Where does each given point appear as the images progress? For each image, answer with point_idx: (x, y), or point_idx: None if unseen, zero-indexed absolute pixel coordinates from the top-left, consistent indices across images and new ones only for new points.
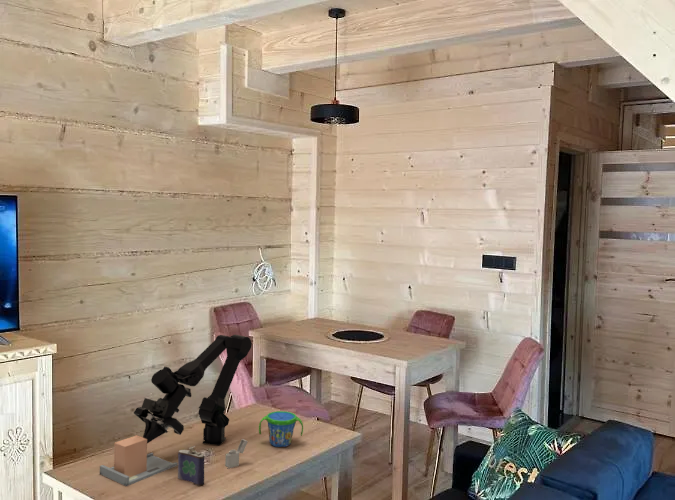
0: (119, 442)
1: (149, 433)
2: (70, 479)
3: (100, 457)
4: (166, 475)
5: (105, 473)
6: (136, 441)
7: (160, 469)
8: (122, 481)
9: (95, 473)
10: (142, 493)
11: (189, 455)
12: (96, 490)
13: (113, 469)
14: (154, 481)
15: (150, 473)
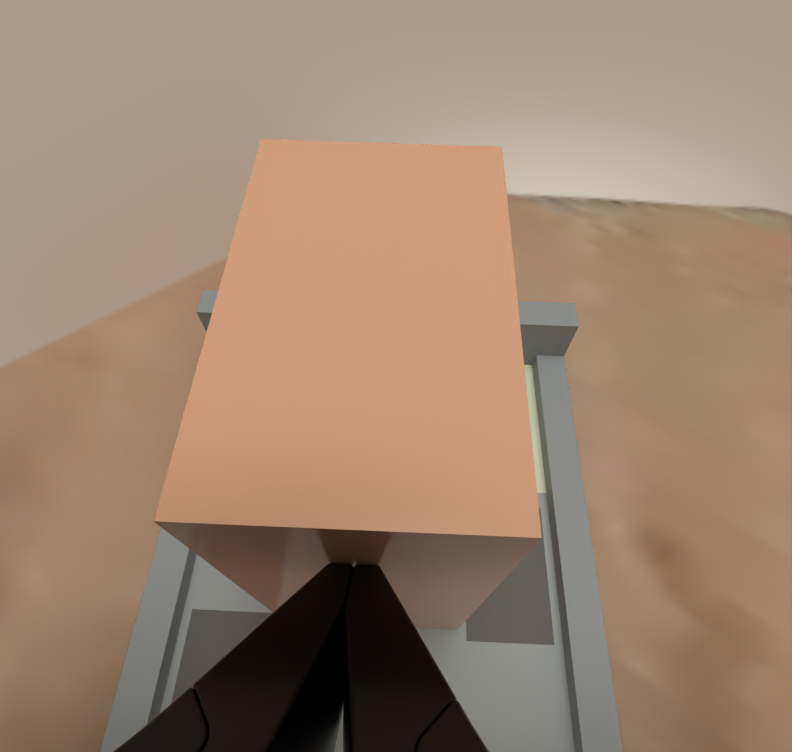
0: (453, 177)
1: (206, 704)
2: (626, 233)
3: None
4: (47, 713)
5: None
6: (263, 324)
7: (123, 709)
8: None
9: (609, 356)
10: (60, 350)
11: None
12: None
13: (542, 437)
14: (89, 533)
15: (161, 558)
